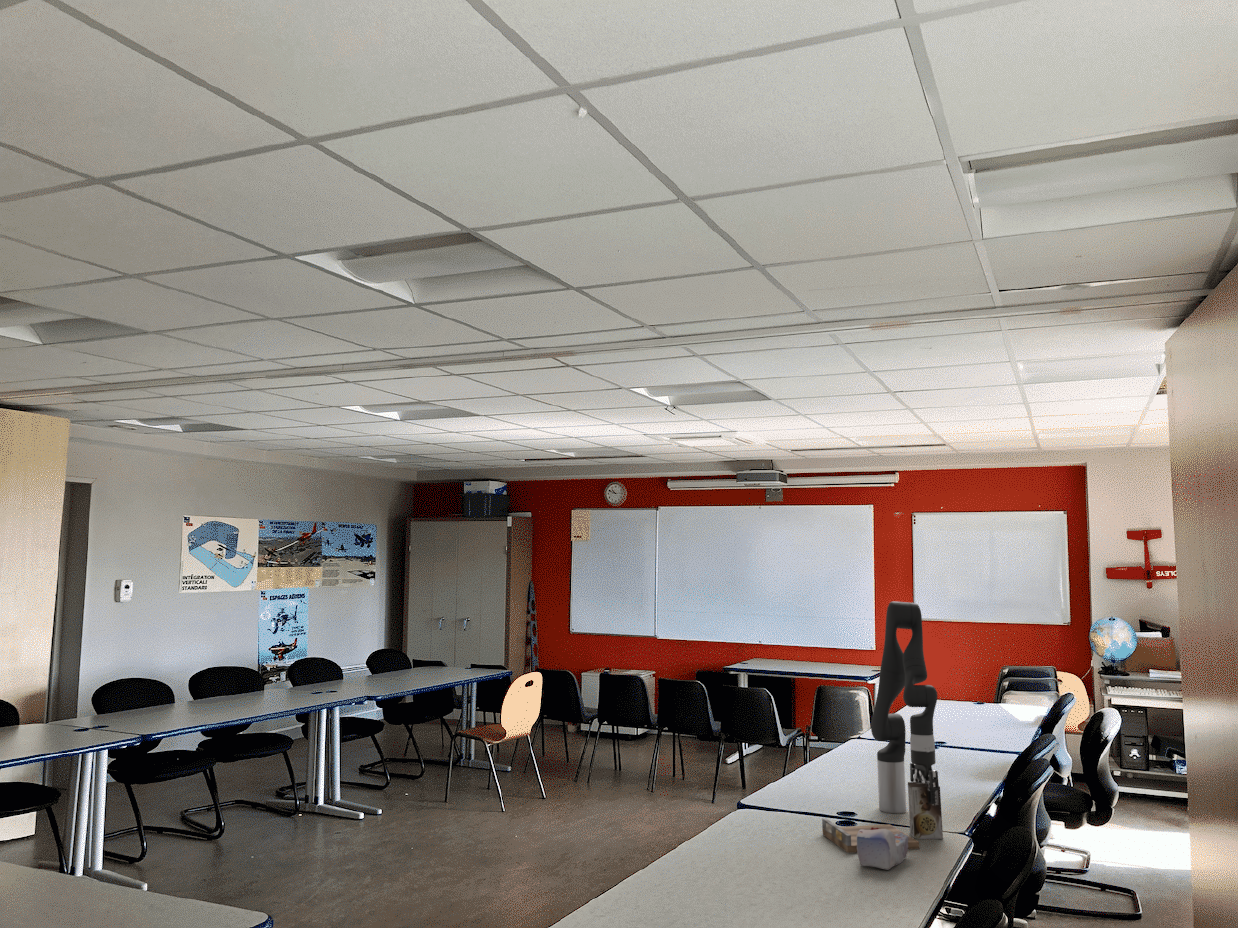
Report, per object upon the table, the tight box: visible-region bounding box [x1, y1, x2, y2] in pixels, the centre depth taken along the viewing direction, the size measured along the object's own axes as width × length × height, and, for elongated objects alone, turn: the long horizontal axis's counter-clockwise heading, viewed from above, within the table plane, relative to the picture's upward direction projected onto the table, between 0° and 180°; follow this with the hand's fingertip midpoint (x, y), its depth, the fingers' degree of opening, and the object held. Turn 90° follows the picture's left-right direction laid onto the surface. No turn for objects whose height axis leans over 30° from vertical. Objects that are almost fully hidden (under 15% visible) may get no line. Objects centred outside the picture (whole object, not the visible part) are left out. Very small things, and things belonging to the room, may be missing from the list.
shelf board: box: [821, 817, 920, 854], centre depth 291 cm, size 20×23×5 cm
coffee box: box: [907, 781, 944, 840], centre depth 297 cm, size 9×6×16 cm
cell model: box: [856, 827, 909, 871], centre depth 271 cm, size 13×11×20 cm
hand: (925, 800), depth 297 cm, fingers open, 8 cm apart
